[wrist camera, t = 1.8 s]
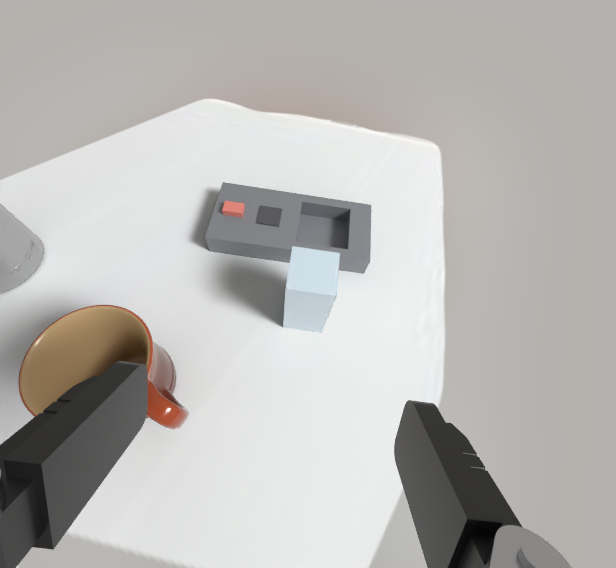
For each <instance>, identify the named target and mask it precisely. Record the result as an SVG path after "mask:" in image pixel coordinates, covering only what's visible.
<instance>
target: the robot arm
mask: <svg viewBox="0 0 616 568" xmlns="http://www.w3.org/2000/svg"><path fill="white" fill-rule="evenodd" d="M43 254H44V248H43V244H42V242H41V240H40V239H39V238H38V236H37V235H35V234H34V233H33V232H32V231H31V230H30V229H29V228H27V227H26V226H25V225H24V224H23V223H22V222H21V221H19V220H18V219H17V218H16V217H15V216H14V215H13V214H12V213H11V212H9V211H8V210H7V209H6V208H5V207H4V206H3V205H1V204H0V293H3V292H6V291H9V290H11V289H13V288H15V287H17V286H19V285H20V284H21V283H23V282H24V281H26V280H27V279H28V278H29V277H30V276H31V275H32V274H33V273H34V272H35V271H36V270H37V268H38V267H39V265H40V263H41V261H42V259H43ZM147 410H148V373H147V367H146V365H144V364H137V363H129V362H122V361H117V362H115V363H114V364H113V365H112V366H111V367H109V368H108V369H107V370H106V371H105V372H104V373H102V374H101V375H100V376H93V377H91V378H89V379H86V380H84V381H82V382H80V383H78V384H76V385H74V386H73V387H71V388H70V389H69V390H68V391H66V392H65V393H64V394H63V395H61V396H60V397H59V398H58V399H57V401H56V402H55V401H54V402H53V403H52V404H50V405H49V406H48V407H47V408H45V409H44V411H43V413H39V414H38V415H37V416H36V417H34V418H33V419H32V420H31V421H30V422H28V423H27V424H26V425H25V426H23V427H22V428H21V429H20V430H18V431H17V432H16V433H15V434H14V435H12V436H11V437H10V438H9V439H7V440H6V441H5V442H4V443H2V444H1V445H0V568H19V563H20V562H21V560H22V559H23V558H24V556H25V555H26V554H27V553H28V552H29V550H30V549H31V548H32V547H37V548H46V549H54V548H55V547H56V545H57V544H58V542H59V541H60V540H61V538H62V537H63V535H64V534H65V533H66V531H67V530H68V529H69V527H70V526H71V524H72V523H73V522H74V520H75V519H76V518H77V516H78V515H79V513H80V512H81V511H82V509H83V508H84V506H85V505H86V504H87V502H88V501H89V500H90V498H91V497H92V495H93V494H94V493H95V491H96V490H97V489H98V487H99V486H100V484H101V483H102V482H103V480H104V479H105V477H106V476H107V475H108V473H109V472H110V471H111V469H112V468H113V466H114V465H115V464H116V462H117V461H118V460H119V458H120V457H121V455H122V454H123V453H124V451H125V450H126V449H127V447H128V446H129V444H130V443H131V442H132V440H133V439H134V437H135V436H136V435H137V433H138V432H139V431H140V429H141V427H142V426H143V423H144V421H145V418H146V415H147ZM394 454H395V461H396V465H397V468H398V472H399V475H400V478H401V481H402V485H403V488H404V491H405V495H406V498H407V501H408V504H409V508H410V511H411V514H412V517H413V521H414V524H415V527H416V531H417V534H418V537H419V540H420V544H421V547H422V550H423V554H424V557H425V560H426V564H427V567H428V568H571V566H570V565H569V564H568V562H567V561H566V560H565V558H563V556H562V555H561V554H560V553H559V552H558V551H557V550H556V549H555V548H554V547H553V546H552V545H550V544H549V543H548V542H547V541H545V540H544V539H543V538H541V537H540V536H538V535H537V534H535V533H533V532H531V531H529V530H527V529H525V528H523V527H522V526H521V524H520V523H519V521H518V519H517V518H516V516H515V515H514V513H513V511H512V510H511V508H510V506H509V505H508V503H507V502H506V500H505V498H504V497H503V495H502V494H501V492H500V491H499V489H498V487H497V486H496V484H495V482H494V481H493V479H492V478H491V476H490V474H489V473H488V471H485V467H484V465H483V463H482V462H481V460H480V458H479V457H477V453H476V452H475V450H474V449H473V447H472V446H471V444H470V442H469V441H468V439H467V438H466V437H465V436H464V435H463V434H462V433H461V432H460V431H459V430H458V429H457V428H456V427H455V426H453V424H451V423H446V422H445V421H444V419H443V417H442V416H441V414H440V412H439V410H438V408H437V407H436V405H435V404H433V403H426V402H418V401H411V400H409V401H407V402H406V404H405V407H404V410H403V414H402V418H401V421H400V425H399V428H398V432H397V435H396V439H395V446H394Z"/></svg>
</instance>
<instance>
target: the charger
mask: <svg viewBox="0 0 616 568" xmlns="http://www.w3.org/2000/svg"><path fill="white" fill-rule="evenodd" d="M339 259H340V253H336V252H329V251H322V250H316V249H309V248H302V247H295V246H292V252H291V258H290V264H289V271H288V277H287V283H286V289H285V304H284V319H283V327H284V328H291V329H298V330H306V331H313V332H320V333H322V330H323V328H324V325H325V323H326V321H327V318H328V316H329V313H330V311H331V309H332V306H333V304H334V301H335V299H336V296H337V286H338V272H339Z"/></svg>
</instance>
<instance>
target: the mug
mask: <svg viewBox="0 0 616 568" xmlns="http://www.w3.org/2000/svg"><path fill="white" fill-rule="evenodd" d="M117 361H122V362H129V363H137V364H144V365H146V367H147V373H148V410H147V415H146V418H148V417H149V418H151V419H152V420H154V421H155V422H157V423H159V424H160V425H162V426H164V427H167V428H170V429H178V428H180V427H181V426H182V425H183V423H184V422H185V421H186V419H187V418H188V415H189V412H188V410H187V409H186V408H185V407H183V406H182V405H181V404H180V403H179V402H178V401H177V400H176V399H175V397H174V396H173V395H172V394H173V392H174V389H175V384H176V372H175V367H174V364H173V362H172V360H171V358H170V356H169V355H168V353H167V352H166V351H165V350H164V349H163V348H161V347H160V346H158V345H157V344H156V343H154V342H153V341H152V337H151V334H150V331H149V329H148V327H147V326H146V324H145V323H144V322H143V320H142V319H141V318H140V317H139V316H137V315H136V314H135V313H133V312H131V311H129V310H127V309H125V308H122V307H118V306H112V305H96V306H89V307H85V308H82V309H78V310H76V311H73V312H71V313H69V314H67V315H65V316H63V317H61V318H60V319H58V320H56V321H55V322H54V323H52V324H51V325H50V326H49V327H47V328H46V329H45V330H44V331H43V332H42V333H41V334H40V335H39V336H38V337H37V338H36V340H35V341H34V342H33V344H32V345H31V347H30V348H29V350H28V351H27V353H26V355H25V357H24V360H23V362H22V365H21V368H20V373H19V392H20V396H21V399H22V401H23V403H24V405H25V407H26V408H27V409H28V411H29V412H30V413H31V414H32V415H33V416H35V417H36V416H37V415H38V414H39V413H43V411H44V409H45V408H47V407H48V406H49V405H50V404H52V403H53V402H54V401H55V402H56V401H57V399H58V398H59V397H60V396H61V395H63V394H64V393H65V392H66V391H68V390H69V389H70V388H71V387H73V386H74V385H76V384H78V383H80V382H82V381H84V380H86V379H89V378H91V377H93V376H100V375H101V374H102V373H104V372H105V371H106V370H107V369H108V368H109V367H111V366H112V365H113V364H114V363H115V362H117ZM146 418H145V419H146Z"/></svg>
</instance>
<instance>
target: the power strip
mask: <svg viewBox="0 0 616 568" xmlns="http://www.w3.org/2000/svg"><path fill="white" fill-rule="evenodd" d="M370 238H371V205H368V204H361V203H355V202H348V201H342V200H335V199H328V198H322V197H315V196H309V195H302V194H296V193H289V192H283V191H276V190H269V189H263V188H256V187H250V186H243V185H237V184H230V183H224V182H223V184H222V187H221V190H220V193H219V196H218V199H217V202H216V205H215V208H214V211H213V214H212V217H211V220H210V223H209V226H208V229H207V232H206V235H205V239H206V242H207V245H208V248H209V251H213V252H220V253H227V254H233V255H240V256H247V257H254V258H261V259H268V260H275V261H282V262H289V263H290V258H291V252H292V246H295V247H302V248H309V249H316V250H322V251H329V252H336V253H340V259H339V270H344V271H351V272H357V273H364V272H365V270H366V268H367V266H368V264H369V262H370Z"/></svg>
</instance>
